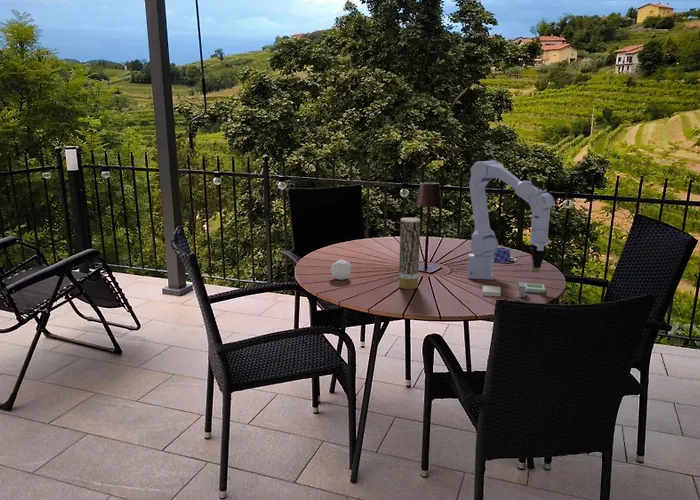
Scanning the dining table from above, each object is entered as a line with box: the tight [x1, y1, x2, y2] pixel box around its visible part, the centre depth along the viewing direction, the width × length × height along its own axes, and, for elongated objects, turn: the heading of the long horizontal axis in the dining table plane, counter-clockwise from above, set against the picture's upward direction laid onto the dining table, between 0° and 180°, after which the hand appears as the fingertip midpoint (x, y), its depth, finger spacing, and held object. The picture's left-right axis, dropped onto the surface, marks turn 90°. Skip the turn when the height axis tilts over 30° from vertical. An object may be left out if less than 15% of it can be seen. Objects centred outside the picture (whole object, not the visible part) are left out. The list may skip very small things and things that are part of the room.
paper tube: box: [398, 217, 421, 291], centre depth 196 cm, size 7×7×25 cm
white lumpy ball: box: [330, 259, 352, 281], centre depth 208 cm, size 8×8×8 cm
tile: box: [481, 285, 502, 297], centre depth 192 cm, size 6×7×2 cm
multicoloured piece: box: [493, 246, 517, 264], centre depth 236 cm, size 12×12×5 cm
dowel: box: [531, 263, 541, 274], centre depth 193 cm, size 3×3×7 cm
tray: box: [525, 282, 546, 294], centre depth 196 cm, size 6×6×2 cm
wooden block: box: [517, 281, 526, 298], centre depth 190 cm, size 2×5×4 cm, turn 167°
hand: (536, 266), depth 194 cm, fingers closed on dowel, 3 cm apart
